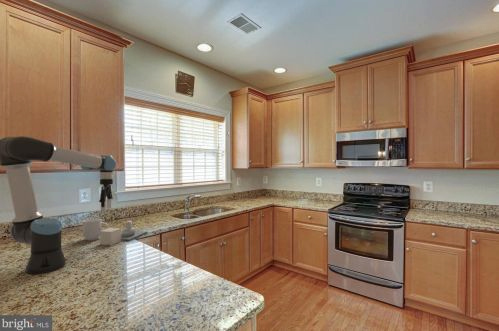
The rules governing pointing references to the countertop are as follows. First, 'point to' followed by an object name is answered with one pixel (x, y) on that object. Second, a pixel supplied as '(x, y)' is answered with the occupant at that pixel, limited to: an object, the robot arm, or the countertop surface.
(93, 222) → the mug
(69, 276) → the countertop surface
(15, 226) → the robot arm
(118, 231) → the cream cube block
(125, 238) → the post base
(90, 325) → the countertop surface
